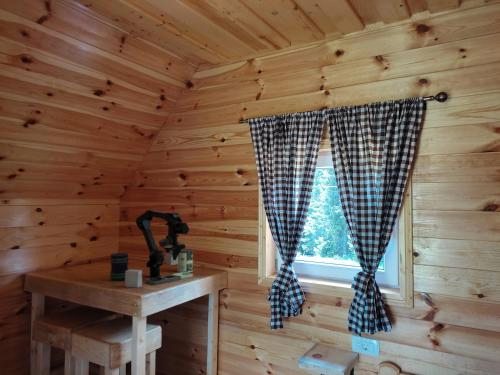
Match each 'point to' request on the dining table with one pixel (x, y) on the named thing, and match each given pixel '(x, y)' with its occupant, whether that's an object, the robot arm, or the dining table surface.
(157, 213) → the robot arm
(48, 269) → the dining table surface
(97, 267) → the dining table surface
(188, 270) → the coffee can
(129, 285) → the medicine box
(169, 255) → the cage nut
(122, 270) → the storage jar
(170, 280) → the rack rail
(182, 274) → the parts tray
